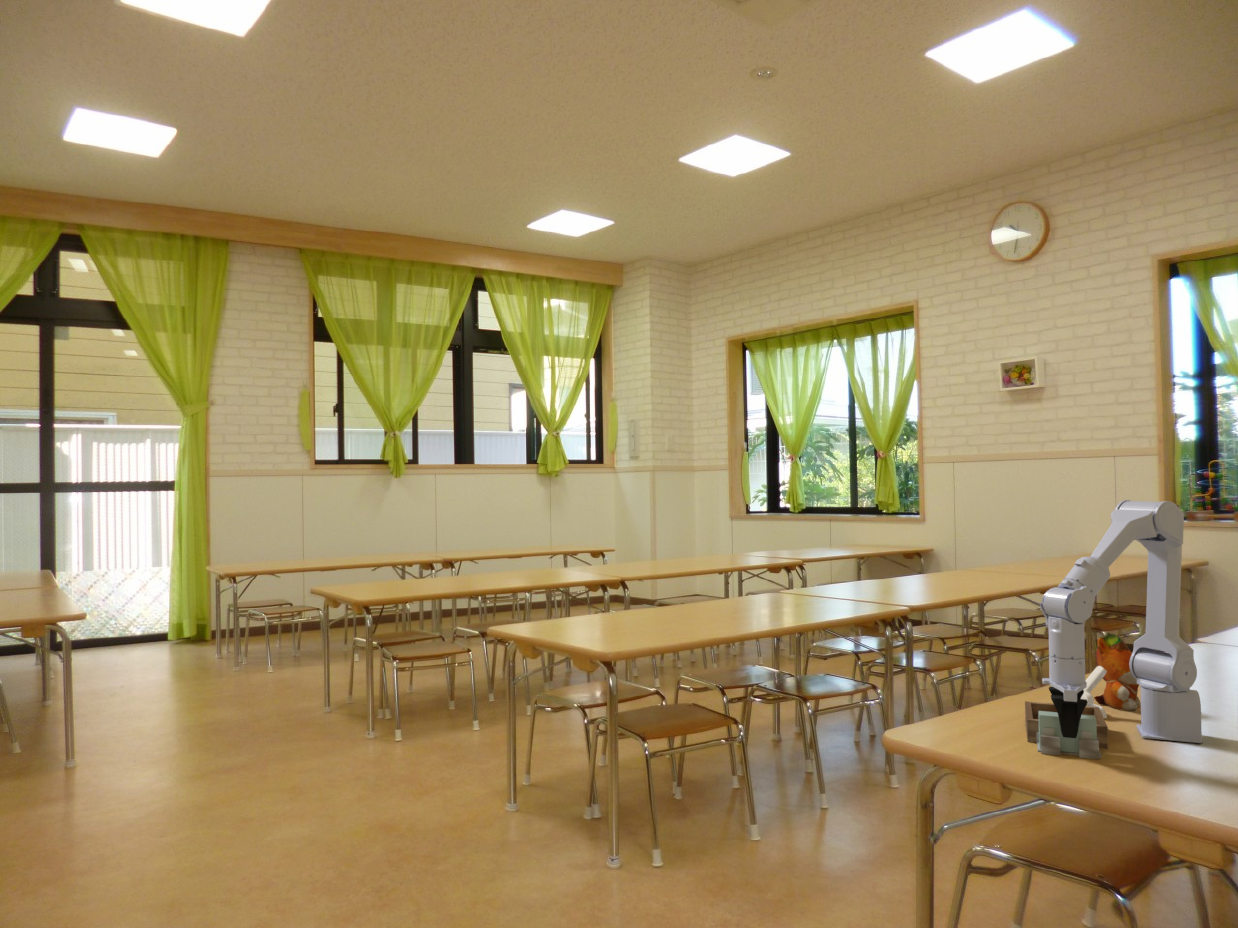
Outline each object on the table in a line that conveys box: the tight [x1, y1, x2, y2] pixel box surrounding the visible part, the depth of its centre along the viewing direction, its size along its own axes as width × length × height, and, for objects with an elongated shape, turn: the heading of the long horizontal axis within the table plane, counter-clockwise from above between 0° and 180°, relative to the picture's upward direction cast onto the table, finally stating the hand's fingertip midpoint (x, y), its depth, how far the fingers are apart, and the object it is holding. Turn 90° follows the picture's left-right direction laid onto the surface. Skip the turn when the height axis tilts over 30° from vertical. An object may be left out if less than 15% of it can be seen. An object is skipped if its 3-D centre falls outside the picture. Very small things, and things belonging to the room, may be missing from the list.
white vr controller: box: [1081, 665, 1108, 720], centre depth 180 cm, size 8×12×7 cm
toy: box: [1093, 632, 1141, 712], centre depth 187 cm, size 11×9×15 cm
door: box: [1038, 711, 1097, 753], centre depth 157 cm, size 9×3×6 cm, turn 67°
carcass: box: [1024, 700, 1109, 760], centre depth 163 cm, size 13×21×4 cm, turn 157°
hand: (1068, 732), depth 157 cm, fingers open, 5 cm apart
